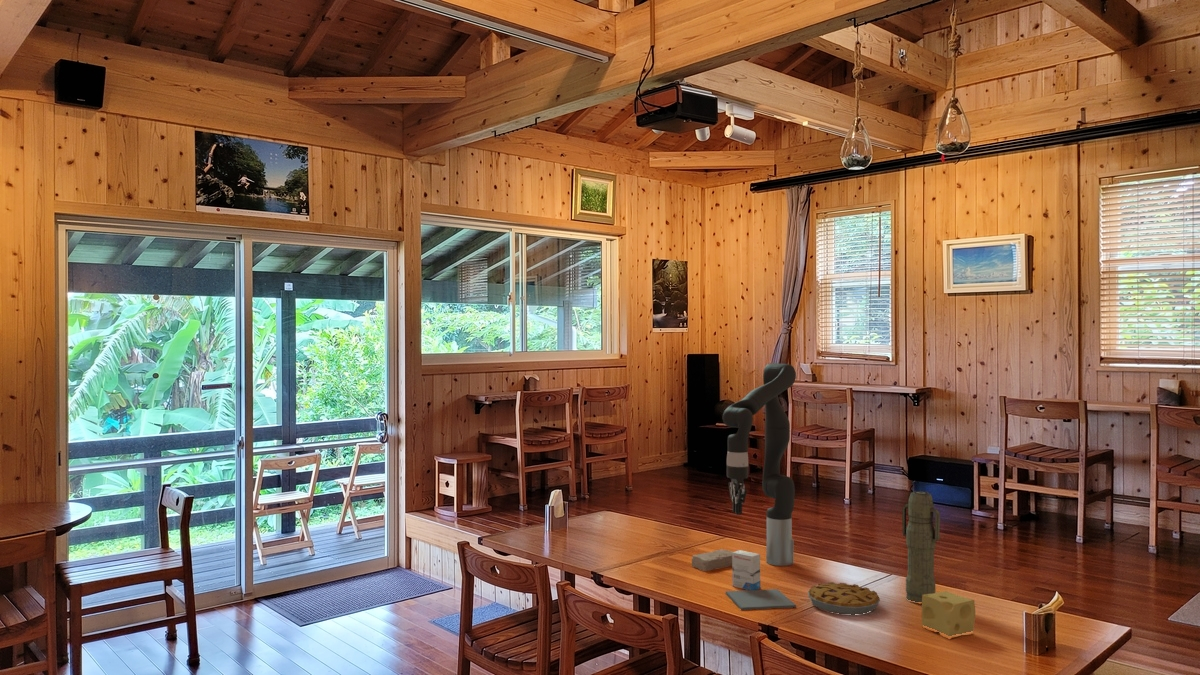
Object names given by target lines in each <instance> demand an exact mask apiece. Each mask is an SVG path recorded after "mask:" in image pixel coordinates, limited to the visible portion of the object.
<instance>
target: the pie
mask: <svg viewBox="0 0 1200 675" xmlns="http://www.w3.org/2000/svg"><path fill="white" fill-rule="evenodd" d="M807 595H808V598H810V600H811V603H812V605H813V606H815V607H816V608H817V607H818V609H819V610H822V611H824V610H825V611H826V612H827V611H828V612H827V613H831V612H833V613H832V614H836V613H839V614H838V615H841V614H851V615H855V614H863V613H867V612H869V611H872V610H873V609H874V608H875V609H876V607H877V605H878V604H879V603H880V602H881V599H880V596H879V595H878V593H877V592H876V591H875V590H870V588H868V587H861V586H860V585H858V584H855V583H854V584H848V583H846V582H845V583H844V582H839V583H835V582H828V583H818V584H817V585H812V586H811V587H810V588H809V590H808V591H807ZM875 609H874V610H875ZM874 610H873V611H874ZM873 611H872V612H873ZM867 614H868V613H867ZM851 615H850V616H851Z"/></svg>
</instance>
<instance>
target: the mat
mask: <svg viewBox="0 0 1200 675" xmlns="http://www.w3.org/2000/svg"><path fill="white" fill-rule="evenodd" d="M725 595H726V596H727V597H728V598H729V599H730V600H731V601H732V602H733V603H734V604H735V605H736V607H738V608H740V609H741V610H740V611H746V610H747V611H749V610H750V611H751V610H752V609H756V610H772V609H771V608H778V609H793V607H795V608H797V604H796V603H794V602H793V601H792V600H791V599H790V598H789V597H788V596H786V595H785V594H784V593H783V592H782V591H780V590H779V589H778V588H775V589H774V588H771V589H757V590H746V589H744V590H729V591H728V590H727V591H726V590H725Z"/></svg>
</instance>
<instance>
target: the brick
mask: <svg viewBox="0 0 1200 675" xmlns="http://www.w3.org/2000/svg"><path fill="white" fill-rule="evenodd" d="M733 552H734V551H733V550H727V549H724V548H723V549H721V548H720V549H716V550H714V551H709V552H703V553H698V554H693V555H692V558H691V567H693V568H695V569H698V570H700V571H703V572H707V571H709V572H710V571H712V570H717V569H723V568H728V567H732V553H733Z"/></svg>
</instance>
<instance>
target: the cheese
mask: <svg viewBox="0 0 1200 675" xmlns="http://www.w3.org/2000/svg"><path fill="white" fill-rule="evenodd" d="M975 623H976V604H975V599H972V598H969V597H964V596H961V595H958V594H955V593H953V592H950V591H947V590H942V591H937V592H935V593H933V594H925V595H922V605H921V625H924V626H927V627H929V628H932V629H935V630H937V631H939V632H941V633H944V634H946V635H948V636H952V635H956V634H962V633H966V632H971V631H973V632H974V627H975Z"/></svg>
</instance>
